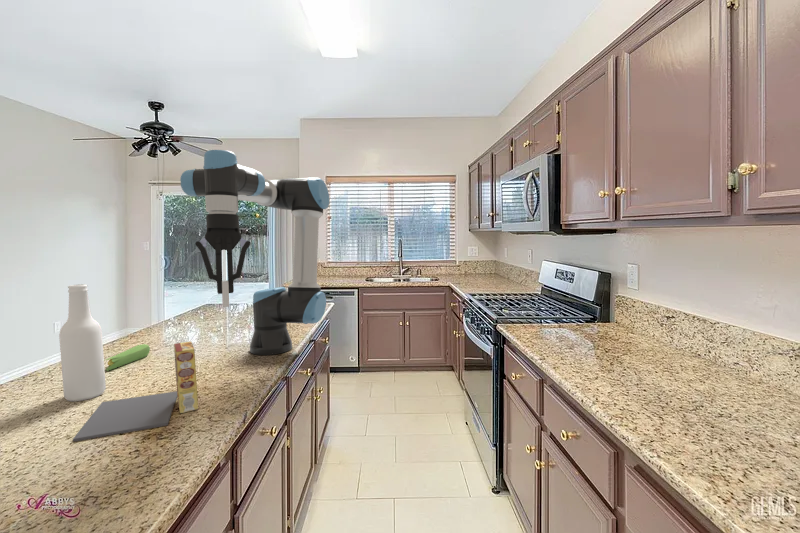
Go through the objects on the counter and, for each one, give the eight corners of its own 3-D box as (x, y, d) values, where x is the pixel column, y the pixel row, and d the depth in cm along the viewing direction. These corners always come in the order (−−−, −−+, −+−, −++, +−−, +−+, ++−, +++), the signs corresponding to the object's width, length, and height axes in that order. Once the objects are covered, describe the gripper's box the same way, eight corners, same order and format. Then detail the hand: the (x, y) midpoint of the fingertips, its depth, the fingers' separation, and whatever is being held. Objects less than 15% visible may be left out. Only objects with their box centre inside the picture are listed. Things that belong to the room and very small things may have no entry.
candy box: (198, 409, 95) (195, 348, 94) (179, 414, 93) (175, 351, 91) (194, 397, 102) (192, 340, 101) (176, 401, 100) (173, 343, 99)
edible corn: (155, 343, 141) (144, 339, 141) (107, 362, 121) (95, 358, 122) (152, 356, 142) (141, 352, 142) (105, 377, 122) (92, 373, 122)
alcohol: (71, 404, 98) (63, 287, 96) (58, 397, 103) (49, 285, 101) (111, 393, 106) (104, 284, 104) (97, 386, 111) (90, 282, 108)
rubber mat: (178, 393, 105) (178, 390, 105) (167, 425, 87) (167, 422, 87) (102, 404, 99) (102, 401, 99) (72, 441, 80) (72, 439, 80)
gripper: (249, 215, 104) (252, 302, 105) (194, 214, 99) (198, 305, 100) (250, 213, 97) (254, 306, 99) (192, 212, 92) (196, 310, 93)
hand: (226, 306), depth 99 cm, fingers closed
